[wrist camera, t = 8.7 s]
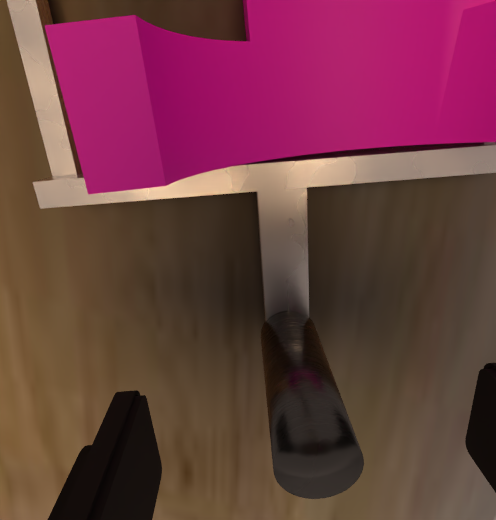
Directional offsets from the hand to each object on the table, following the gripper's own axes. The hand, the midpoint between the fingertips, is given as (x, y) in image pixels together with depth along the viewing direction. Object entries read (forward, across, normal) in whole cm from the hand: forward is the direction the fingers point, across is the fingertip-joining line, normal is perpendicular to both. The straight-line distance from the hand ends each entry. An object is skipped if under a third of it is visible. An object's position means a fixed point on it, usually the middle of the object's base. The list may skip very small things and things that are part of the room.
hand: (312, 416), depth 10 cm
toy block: (+9, -2, -10) cm, 14 cm away
